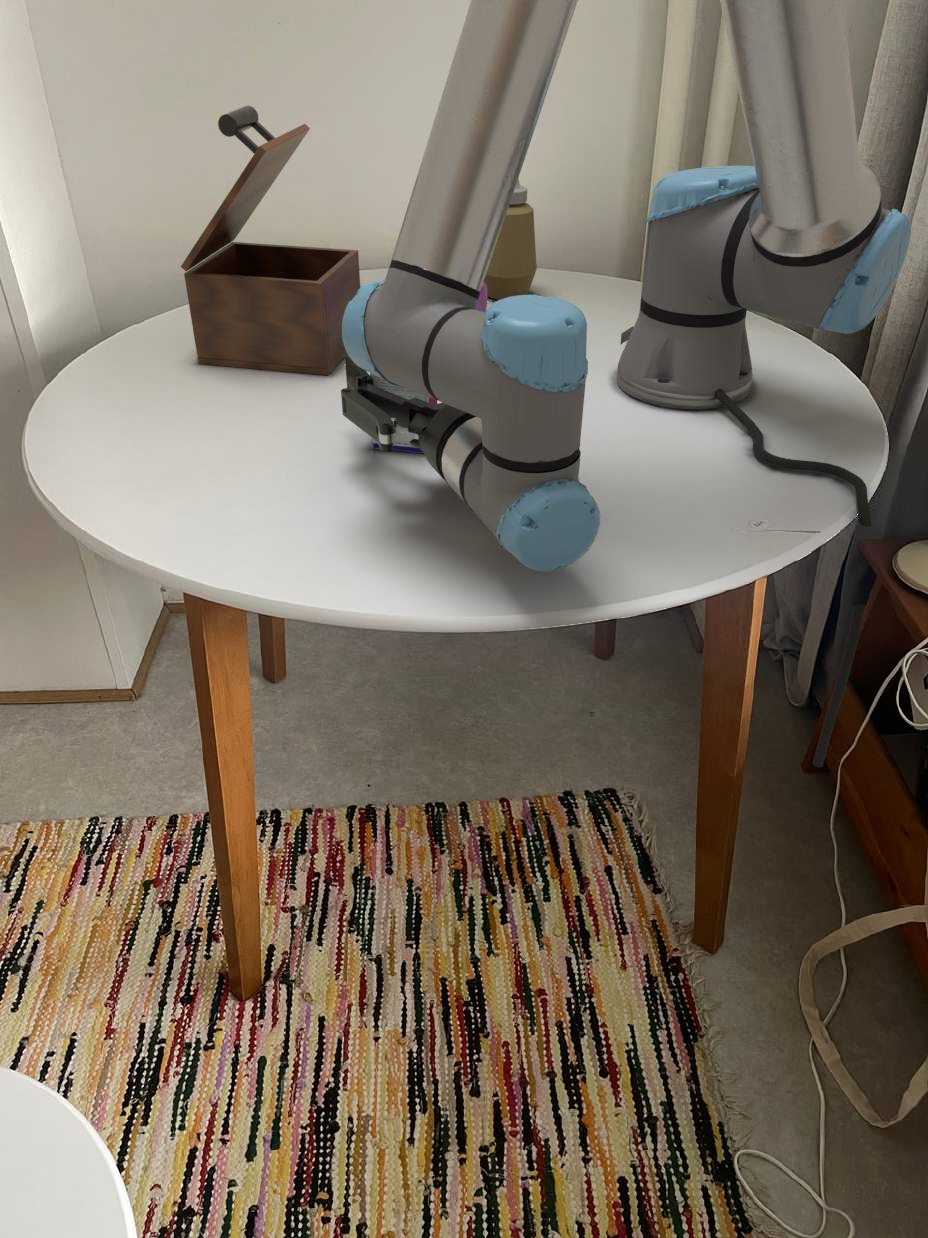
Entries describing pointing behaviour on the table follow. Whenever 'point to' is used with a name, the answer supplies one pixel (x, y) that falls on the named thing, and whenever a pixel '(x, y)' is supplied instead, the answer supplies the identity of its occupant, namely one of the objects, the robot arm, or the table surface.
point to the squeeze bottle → (513, 251)
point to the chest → (272, 306)
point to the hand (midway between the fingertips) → (387, 363)
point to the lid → (245, 181)
